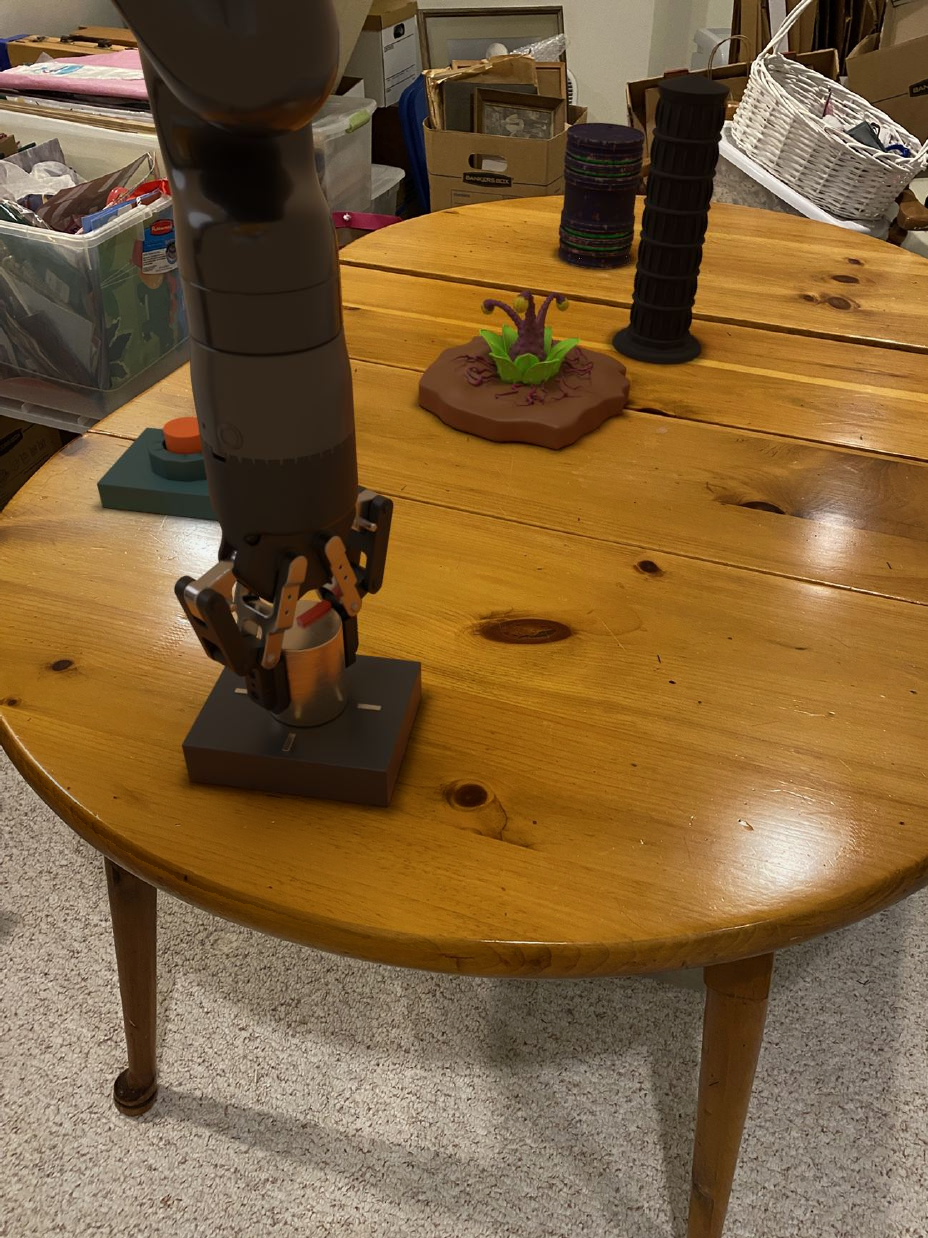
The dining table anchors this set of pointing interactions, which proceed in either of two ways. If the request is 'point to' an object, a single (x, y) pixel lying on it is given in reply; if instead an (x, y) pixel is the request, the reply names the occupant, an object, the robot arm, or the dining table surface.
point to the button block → (157, 480)
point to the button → (182, 436)
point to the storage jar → (600, 194)
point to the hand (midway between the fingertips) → (306, 682)
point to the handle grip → (674, 220)
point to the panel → (310, 738)
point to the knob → (313, 665)
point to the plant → (524, 381)
